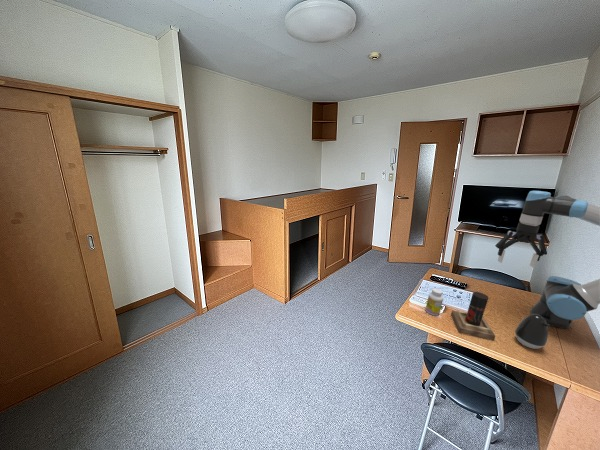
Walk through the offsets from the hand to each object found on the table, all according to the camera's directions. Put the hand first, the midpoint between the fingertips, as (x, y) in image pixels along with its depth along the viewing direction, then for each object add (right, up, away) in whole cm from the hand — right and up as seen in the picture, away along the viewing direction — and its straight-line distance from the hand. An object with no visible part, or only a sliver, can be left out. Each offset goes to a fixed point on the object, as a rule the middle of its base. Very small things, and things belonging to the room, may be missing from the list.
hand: (515, 264), depth 122 cm
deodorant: (-25, -28, -5) cm, 38 cm away
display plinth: (-25, -30, -4) cm, 39 cm away
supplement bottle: (-39, -26, +6) cm, 47 cm away
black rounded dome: (-6, -34, -13) cm, 37 cm away
